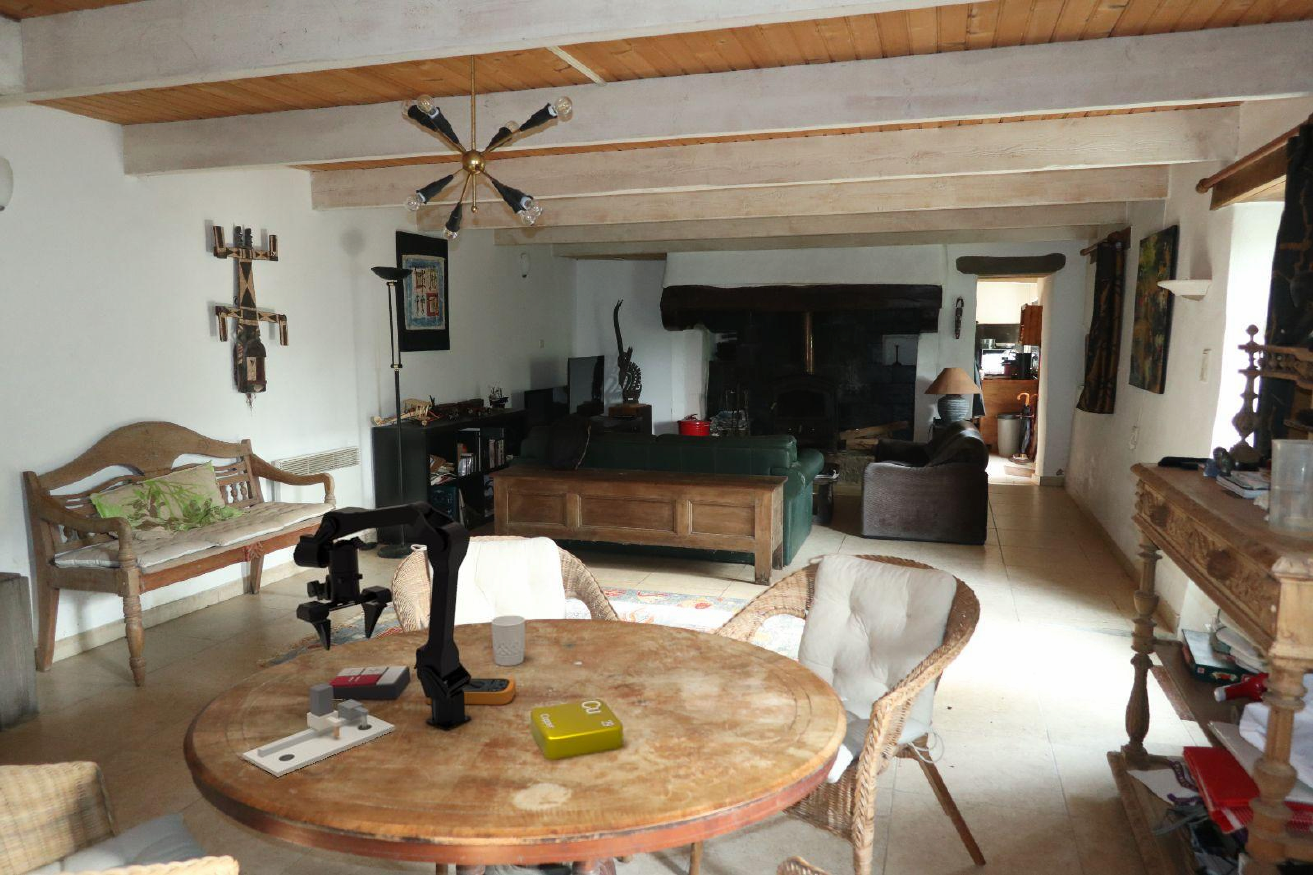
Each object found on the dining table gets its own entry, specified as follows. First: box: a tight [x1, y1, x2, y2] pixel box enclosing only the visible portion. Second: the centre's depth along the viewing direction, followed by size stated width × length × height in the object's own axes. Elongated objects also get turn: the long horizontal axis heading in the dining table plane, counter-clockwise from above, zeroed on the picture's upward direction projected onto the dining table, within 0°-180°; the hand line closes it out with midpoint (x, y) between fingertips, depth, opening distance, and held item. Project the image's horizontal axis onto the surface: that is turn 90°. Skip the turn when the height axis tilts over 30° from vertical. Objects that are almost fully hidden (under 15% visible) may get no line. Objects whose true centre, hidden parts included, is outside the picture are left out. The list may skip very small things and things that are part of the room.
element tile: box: [529, 699, 624, 760], centre depth 169 cm, size 15×15×5 cm
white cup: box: [490, 614, 526, 667], centre depth 210 cm, size 8×8×10 cm
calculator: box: [327, 665, 411, 701], centre depth 193 cm, size 11×4×15 cm
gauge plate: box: [241, 699, 396, 778], centre depth 166 cm, size 12×24×5 cm, turn 142°
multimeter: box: [424, 677, 517, 706], centre depth 188 cm, size 9×18×3 cm, turn 88°
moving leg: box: [306, 682, 342, 737], centre depth 168 cm, size 7×4×8 cm, turn 52°
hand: (348, 644), depth 183 cm, fingers open, 9 cm apart
